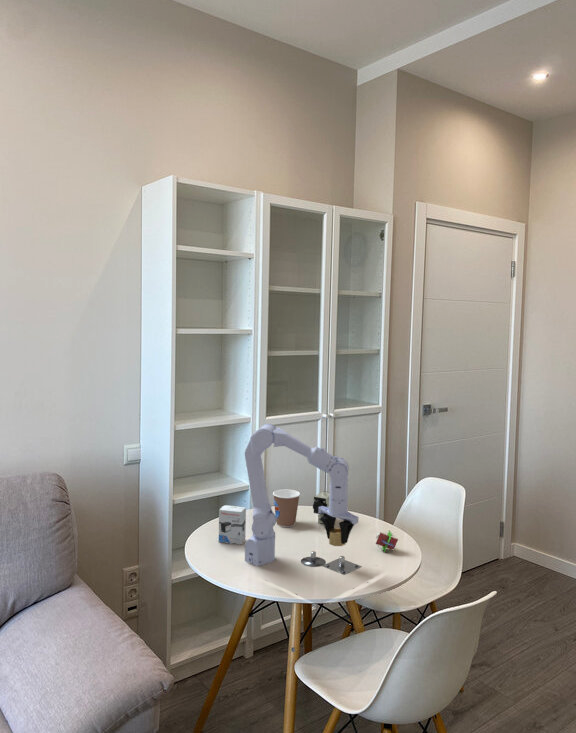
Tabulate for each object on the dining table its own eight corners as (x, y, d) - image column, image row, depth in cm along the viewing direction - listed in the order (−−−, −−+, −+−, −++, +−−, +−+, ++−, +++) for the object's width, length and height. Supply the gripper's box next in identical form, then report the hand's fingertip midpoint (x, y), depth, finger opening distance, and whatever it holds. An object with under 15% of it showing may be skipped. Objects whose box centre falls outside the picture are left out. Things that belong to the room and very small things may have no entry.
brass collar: (338, 547, 186) (338, 534, 185) (326, 542, 189) (326, 530, 189) (348, 543, 189) (348, 530, 189) (336, 538, 193) (336, 526, 192)
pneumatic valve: (311, 526, 227) (312, 495, 226) (323, 517, 237) (324, 487, 236) (325, 528, 224) (326, 497, 223) (336, 519, 235) (337, 489, 234)
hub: (344, 578, 183) (344, 565, 183) (321, 568, 189) (322, 556, 189) (362, 569, 190) (362, 557, 189) (339, 560, 196) (340, 548, 195)
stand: (314, 572, 187) (314, 559, 186) (295, 564, 192) (295, 552, 192) (330, 564, 193) (331, 552, 192) (312, 557, 198) (312, 545, 198)
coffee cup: (271, 519, 233) (272, 489, 232) (298, 519, 234) (299, 489, 233) (272, 528, 223) (273, 497, 222) (300, 529, 224) (301, 497, 223)
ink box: (217, 542, 209) (218, 509, 208) (222, 537, 214) (223, 504, 213) (241, 545, 207) (242, 511, 206) (245, 539, 212) (246, 507, 211)
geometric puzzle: (399, 540, 209) (386, 522, 208) (404, 548, 202) (391, 529, 201) (382, 552, 209) (369, 534, 208) (387, 560, 202) (373, 542, 201)
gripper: (364, 500, 186) (363, 543, 187) (328, 490, 196) (327, 531, 197) (350, 505, 181) (349, 549, 182) (314, 495, 191) (313, 536, 192)
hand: (337, 540), depth 189 cm, fingers closed on brass collar, 5 cm apart
